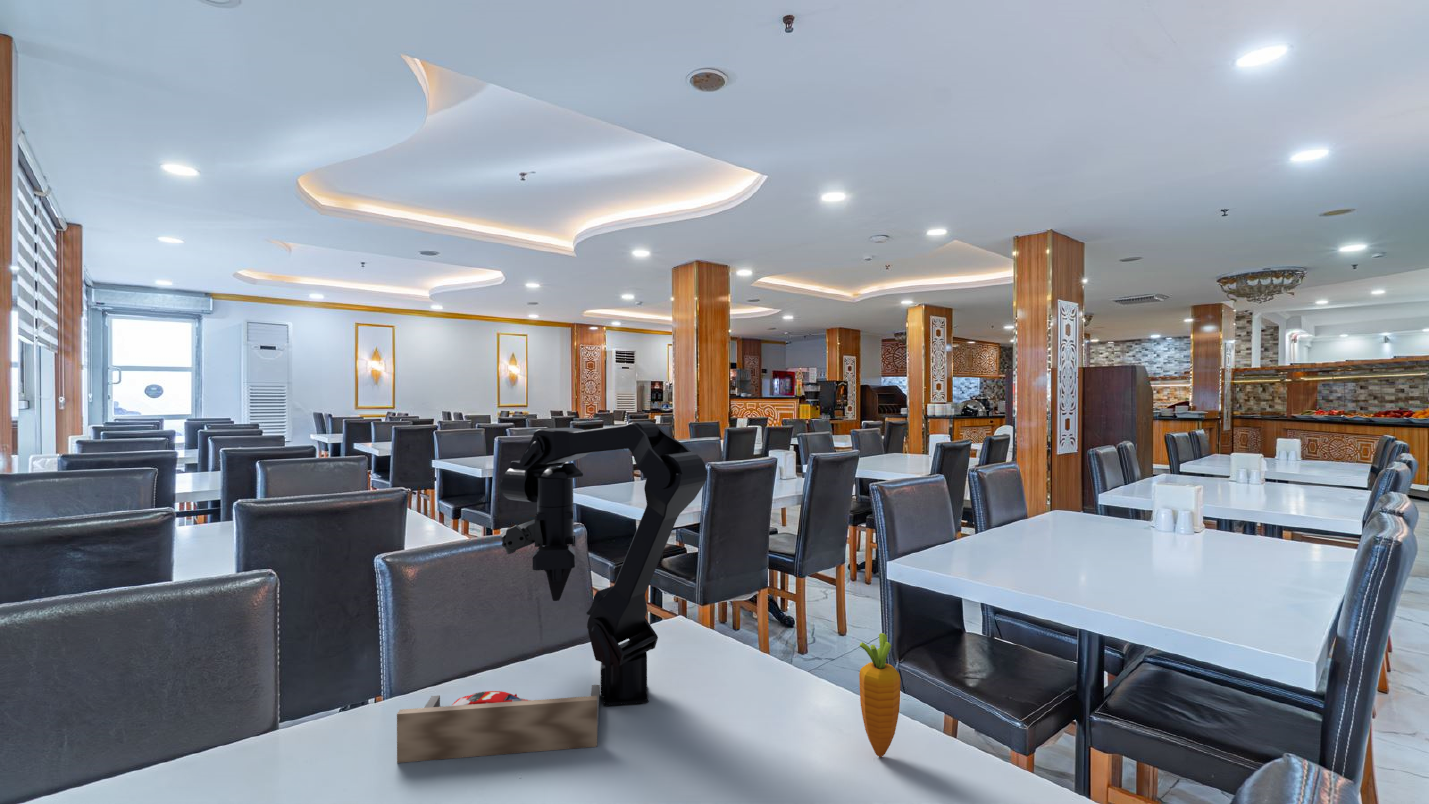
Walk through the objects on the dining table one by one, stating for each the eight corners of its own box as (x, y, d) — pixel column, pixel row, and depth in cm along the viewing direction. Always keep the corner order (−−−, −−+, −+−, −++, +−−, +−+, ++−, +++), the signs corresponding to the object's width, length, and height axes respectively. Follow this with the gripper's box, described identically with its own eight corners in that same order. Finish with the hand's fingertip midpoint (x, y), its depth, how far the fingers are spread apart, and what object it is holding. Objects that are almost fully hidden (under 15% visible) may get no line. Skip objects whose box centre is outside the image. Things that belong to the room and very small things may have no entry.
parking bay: (599, 694, 98) (599, 654, 98) (596, 746, 83) (596, 699, 83) (431, 706, 95) (431, 665, 95) (397, 763, 80) (396, 714, 80)
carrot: (878, 772, 77) (877, 646, 77) (851, 752, 82) (850, 633, 82) (909, 761, 80) (909, 639, 80) (881, 742, 84) (881, 627, 84)
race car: (551, 717, 92) (551, 688, 92) (537, 736, 87) (537, 706, 87) (461, 713, 93) (461, 685, 93) (442, 732, 88) (442, 702, 88)
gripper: (510, 498, 114) (510, 587, 114) (496, 516, 95) (497, 623, 95) (575, 496, 116) (575, 583, 116) (574, 513, 98) (575, 617, 98)
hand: (556, 600), depth 106 cm, fingers closed
